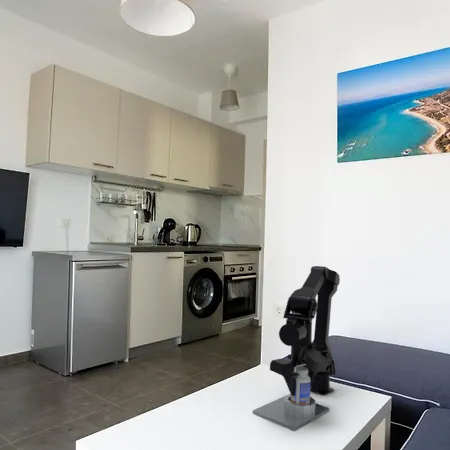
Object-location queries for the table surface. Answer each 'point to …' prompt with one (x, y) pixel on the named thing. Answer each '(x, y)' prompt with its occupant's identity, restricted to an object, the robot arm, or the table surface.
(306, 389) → the pill bottle
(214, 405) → the table surface
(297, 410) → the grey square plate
